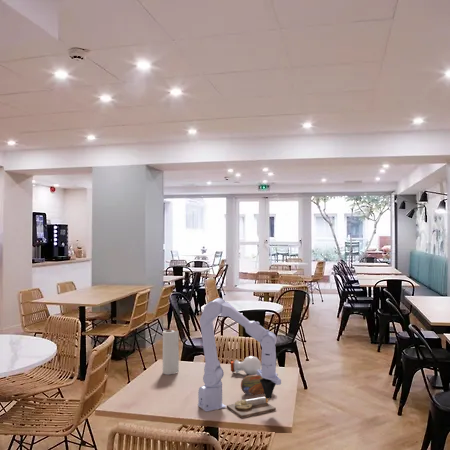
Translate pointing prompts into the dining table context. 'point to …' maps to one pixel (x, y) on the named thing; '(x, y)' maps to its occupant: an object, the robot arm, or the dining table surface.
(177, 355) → the paper towel roll
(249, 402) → the switch lever
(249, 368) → the potion bottle
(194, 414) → the dining table surface
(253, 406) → the lever switch plate
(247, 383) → the tin
